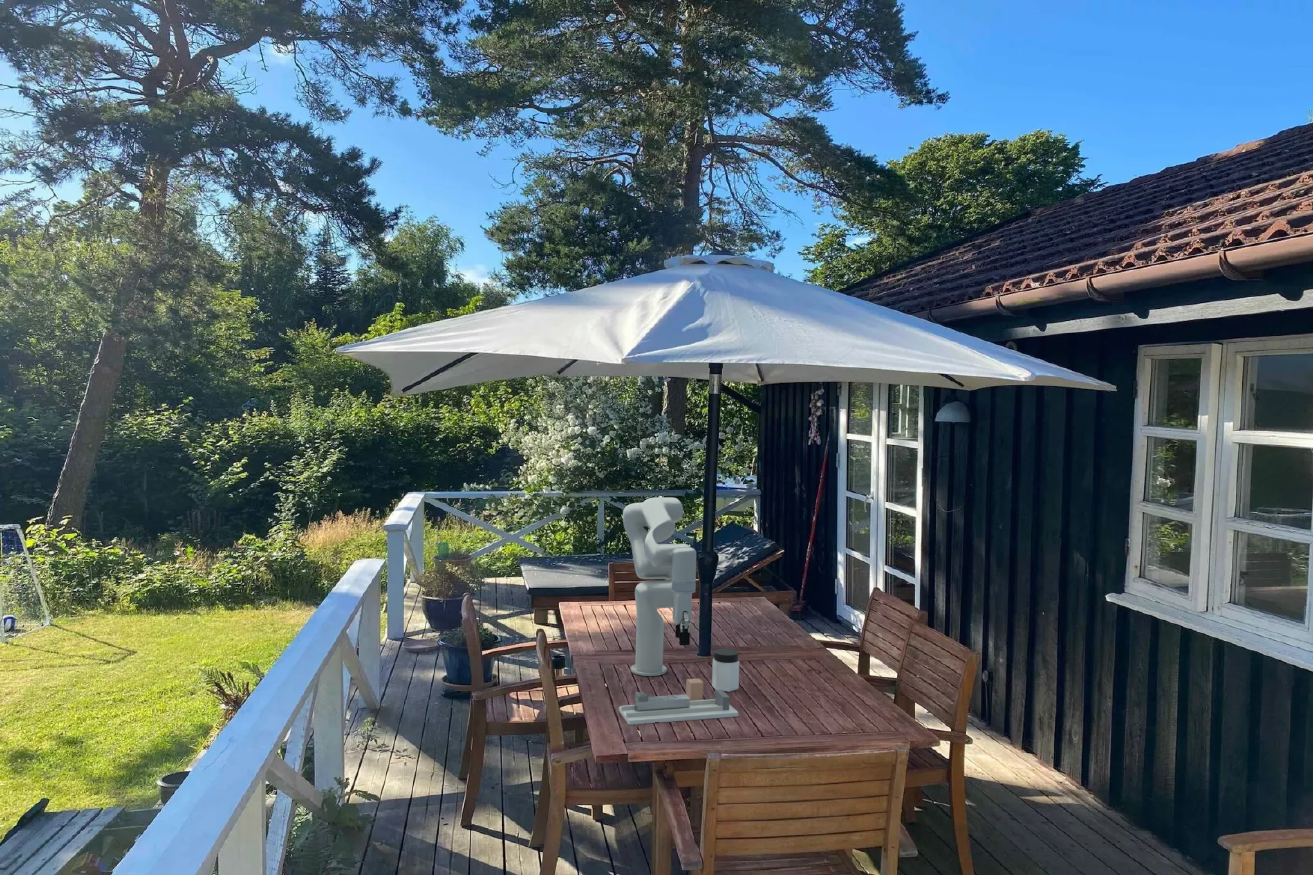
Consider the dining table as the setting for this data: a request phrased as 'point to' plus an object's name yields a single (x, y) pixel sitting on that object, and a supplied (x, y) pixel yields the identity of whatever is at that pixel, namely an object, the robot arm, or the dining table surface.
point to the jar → (725, 670)
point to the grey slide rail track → (683, 711)
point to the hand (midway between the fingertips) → (682, 641)
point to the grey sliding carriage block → (660, 702)
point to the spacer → (694, 689)
